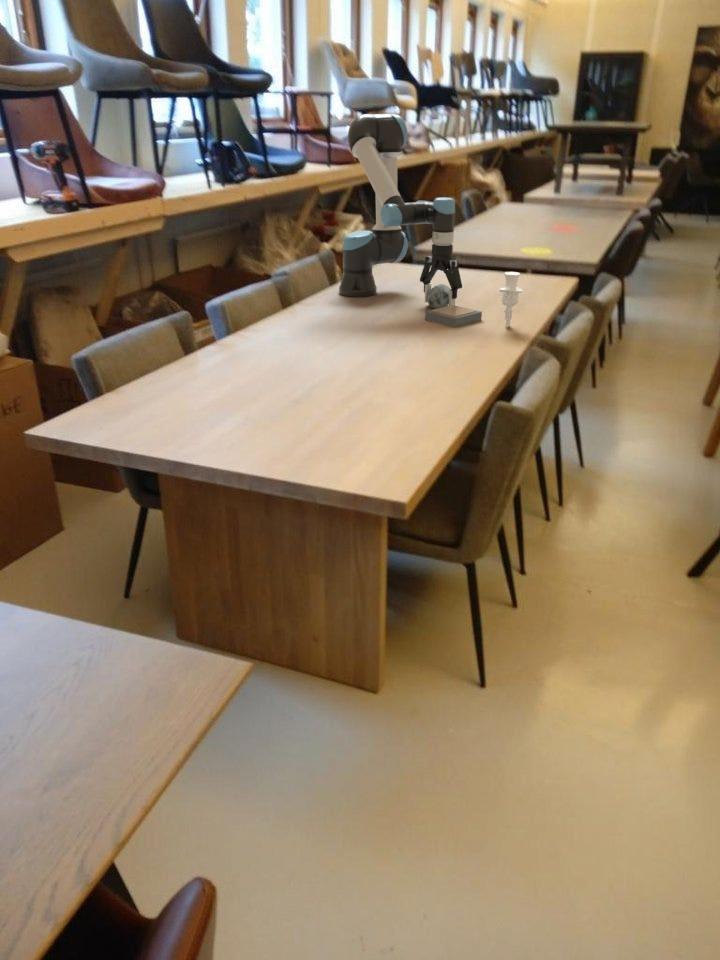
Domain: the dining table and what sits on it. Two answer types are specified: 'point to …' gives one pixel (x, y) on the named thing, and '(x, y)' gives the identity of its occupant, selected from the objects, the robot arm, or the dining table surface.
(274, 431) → the dining table surface
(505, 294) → the figurine
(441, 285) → the grey streaked ellipsoid
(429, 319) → the stand
